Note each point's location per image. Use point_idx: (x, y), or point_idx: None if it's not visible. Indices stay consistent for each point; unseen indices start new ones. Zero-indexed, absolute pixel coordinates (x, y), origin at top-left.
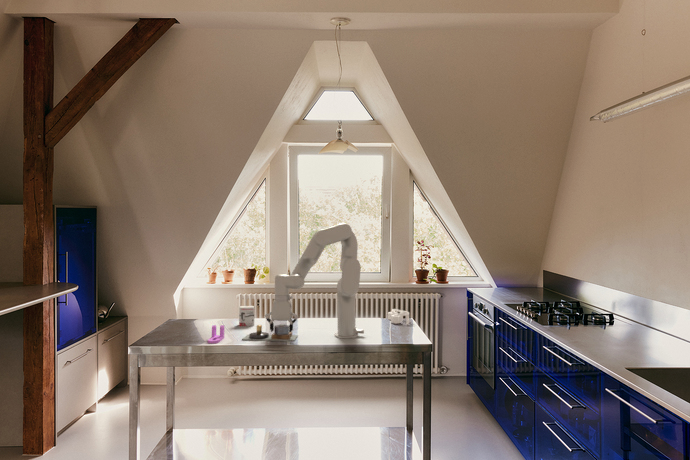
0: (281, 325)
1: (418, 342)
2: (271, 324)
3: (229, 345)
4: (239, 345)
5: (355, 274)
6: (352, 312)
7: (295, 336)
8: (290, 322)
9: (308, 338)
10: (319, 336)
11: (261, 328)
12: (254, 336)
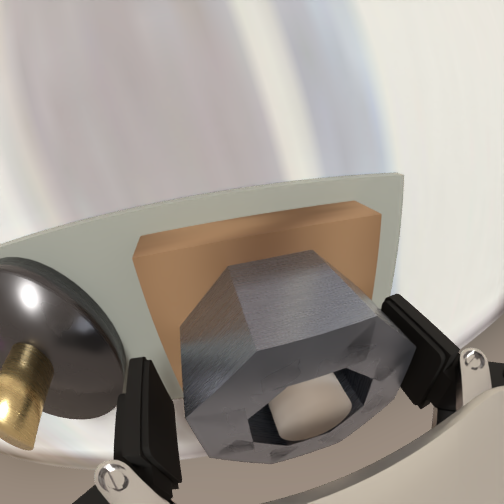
0: (311, 433)
1: None
2: (171, 484)
3: (63, 459)
4: (97, 461)
5: None
6: None
7: (387, 232)
8: (441, 419)
9: (454, 231)
10: (494, 157)
11: (36, 412)
12: (62, 414)
